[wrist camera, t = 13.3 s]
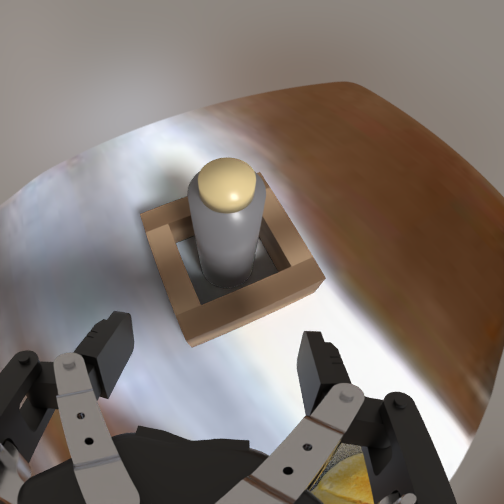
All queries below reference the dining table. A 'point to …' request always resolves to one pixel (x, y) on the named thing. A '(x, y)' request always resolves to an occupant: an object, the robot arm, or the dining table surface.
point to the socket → (242, 300)
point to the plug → (226, 219)
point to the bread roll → (346, 483)
